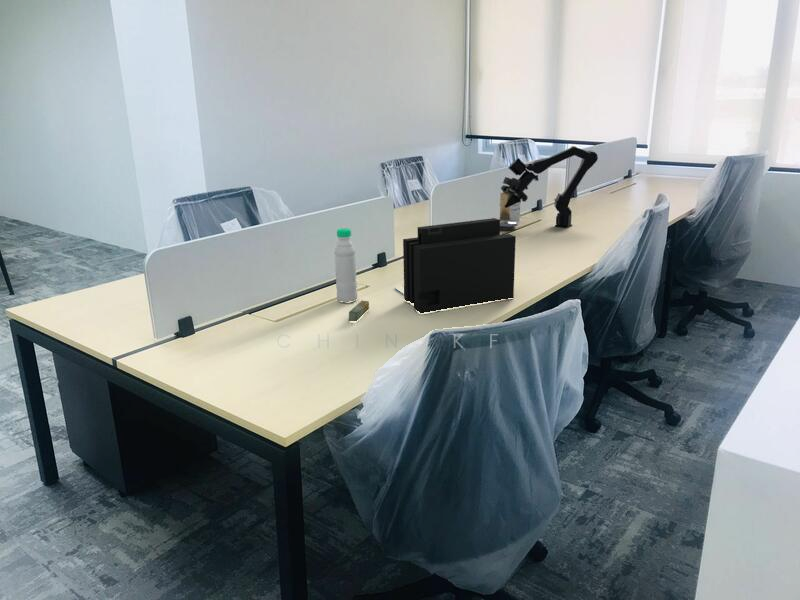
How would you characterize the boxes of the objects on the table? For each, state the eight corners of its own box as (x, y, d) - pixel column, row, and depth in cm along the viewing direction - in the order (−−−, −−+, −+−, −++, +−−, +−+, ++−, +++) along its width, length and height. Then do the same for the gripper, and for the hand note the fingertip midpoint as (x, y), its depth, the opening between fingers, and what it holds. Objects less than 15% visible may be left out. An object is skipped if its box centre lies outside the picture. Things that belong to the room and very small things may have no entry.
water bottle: (337, 297, 233) (333, 227, 225) (357, 296, 233) (354, 226, 225) (336, 304, 226) (333, 232, 218) (357, 303, 227) (354, 231, 219)
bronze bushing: (512, 219, 328) (512, 193, 324) (504, 221, 326) (505, 194, 321) (505, 218, 332) (506, 191, 328) (497, 219, 330) (498, 192, 325)
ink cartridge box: (503, 221, 345) (503, 193, 340) (502, 219, 349) (503, 191, 345) (519, 221, 344) (521, 193, 339) (519, 219, 349) (520, 191, 344)
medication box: (356, 324, 208) (356, 312, 207) (348, 323, 209) (348, 311, 208) (369, 312, 219) (369, 300, 218) (361, 311, 220) (361, 299, 219)
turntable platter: (522, 223, 330) (523, 221, 330) (508, 228, 321) (508, 225, 321) (500, 220, 338) (500, 217, 338) (486, 225, 329) (486, 222, 329)
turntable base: (518, 227, 331) (518, 224, 330) (507, 231, 324) (507, 228, 323) (501, 225, 337) (501, 222, 336) (490, 228, 330) (490, 225, 329)
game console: (420, 315, 215) (419, 233, 206) (384, 289, 241) (382, 216, 232) (513, 299, 228) (516, 222, 219) (469, 276, 254) (470, 206, 245)
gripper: (504, 168, 331) (484, 192, 331) (522, 173, 314) (500, 198, 314) (518, 183, 336) (498, 207, 336) (536, 189, 319) (515, 213, 319)
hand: (502, 206), depth 326 cm, fingers closed on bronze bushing, 5 cm apart
